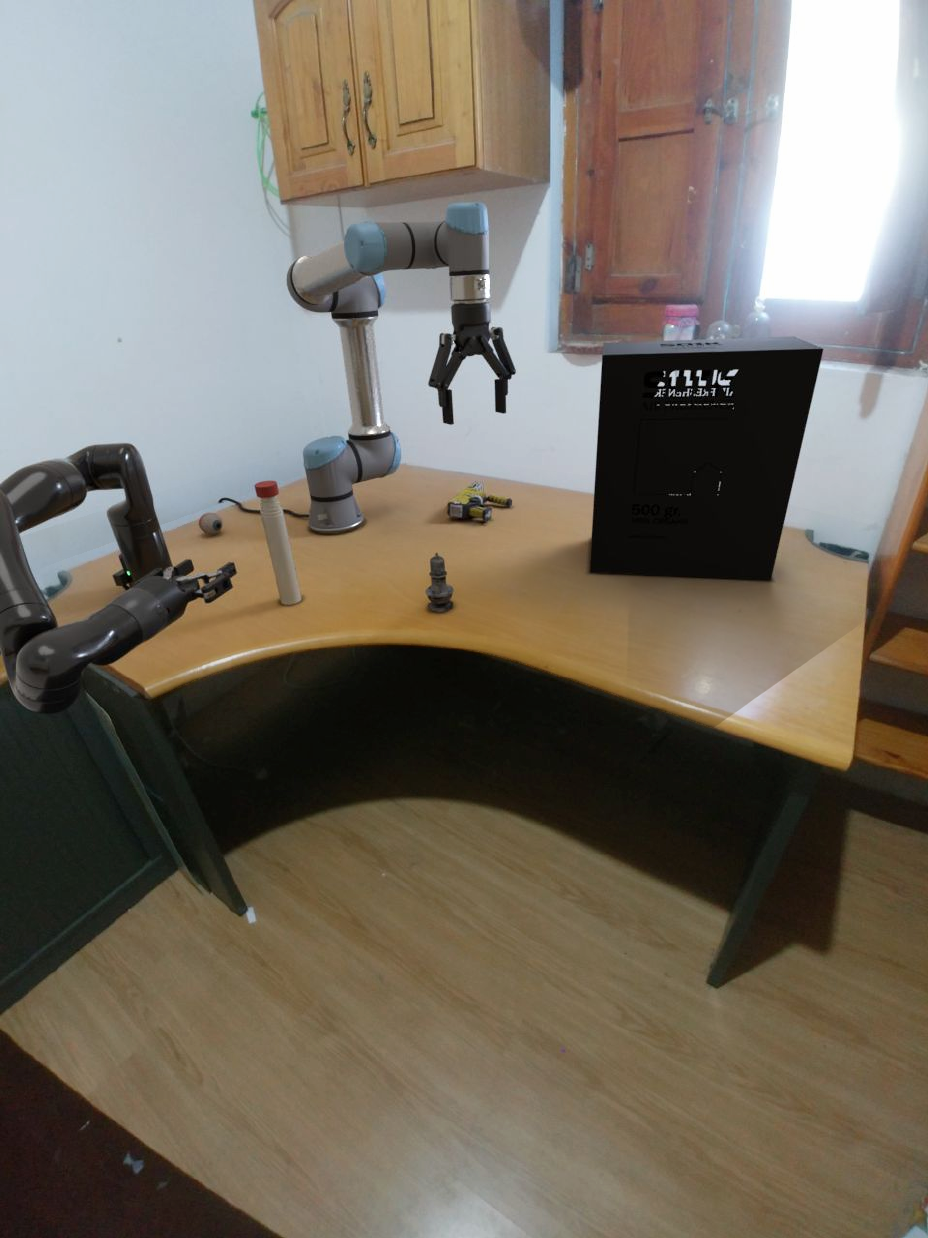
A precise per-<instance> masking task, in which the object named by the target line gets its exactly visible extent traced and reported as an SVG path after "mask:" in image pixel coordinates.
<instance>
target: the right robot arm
mask: <svg viewBox="0 0 928 1238" xmlns="http://www.w3.org/2000/svg"><path fill="white" fill-rule="evenodd" d="M488 214H489V213H488V208H487V206H486V204H485V203H483V202H477V201H469V202H468V201H465V202H457V203H456V202H455V203H451V204H449V205H447V206H446V209H445V219H444V220H438V221H407V222H405V221H404V222H373V221H368V220H367V221H363V222H355V223H352V224H350V225H349V226H347V228H346V232H345V234H344V236H343V237H344V239H343V240H341V241H339V242H337V243H336V244H333V245H332V246H330V247H329V248H326V249H325V250H323V251H321V252H320V253H318V254H316V255H310V254H308V255H303V256H301V257H299V258H298V259H296V260H294V261H293V262H292V263H291V264H290V265H289V268H288V271H287V273H286V287H287V290H288V293H289V295H290V297H291V299H292V300H294V302H295V303H296V304H297V305H298V306H300V307H301V308H303V309H305V310H307V311H309V312H312V313H320V314H321V313H324V314H325V313H330V315H331V320H332V322H333V323H334V324H336V326H337V327H338V329H339V335H340V343H341V344H340V345H341V351H342V358H343V365H344V373H345V380H346V387H347V395H348V403H349V410H350V416H351V417H350V418H351V425H350V426H349V428H348V430H347V436H348V439H345V437H343V436H341V435H332V436H324V437H321V438H318V439H315V440H312V441H311V442H309V443H308V444H306V445H305V446H304V448H303V450H302V457H303V459H302V460H303V467H304V471H305V476H306V481H307V486H308V492H309V498H310V507H309V513H308V514H306V513H304V514H303V513H296V512H294V511H293V510H290V509H286V508H284V509H283V508H282V509H283V512H284V513H287V514H290V515H291V516H293V517H296V518H308V521H307V522H308V523H307V524H308V528H309V529H308V530H310V531H311V532H312V533H314V534H317V535H323V536H324V535H325V536H327V535H329V536H331V535H339V534H340V535H341V534H345V533H350V532H353V531H355V530H357V529H359V528H361V527H362V526H363V525H364V523H365V519H364V514H363V512H362V510H361V508H360V505H359V504H358V501H357V500H356V498H355V495H354V489H353V485H354V484H355V485H356V484H359V483H363V482H368V481H371V480H375V479H381V478H385V477H387V476H390V475H392V474H394V473H396V472H397V470H398V469H399V467H400V465H401V462H402V446H401V443H400V442H399V441H400V439H399V437H398V436H397V435H396V434H395V432H394V431H391V426H390V425H388V423H386V422H385V418H384V409H383V408H384V407H383V401H382V391H381V381H380V373H379V363H378V354H377V345H376V344H377V343H376V337H375V335H376V334H375V327H374V325H375V322H376V321H377V320H378V318H379V309H380V308H382V307H383V306H384V304H385V299H386V296H387V292H386V291H387V290H386V284H385V279H384V277H383V276H384V275H383V274H382V273H383V272H388V271H399V270H403V271H405V270H422V269H425V270H431V269H433V270H436V269H440V268H448V276H449V277H448V278H449V281H448V282H449V299H450V301H451V302H453V304H451V306H450V314H451V315H450V316H451V325H452V327H453V332H452V333H449V332H448V333H446V332H441V333H439V335H438V337H439V338H438V349H437V352H436V355H435V358H434V363H433V365H432V369H431V372H430V376H429V379H428V382H427V384H428V387H430V388H433V389H436V390H437V398H438V406H439V407H440V408H441V413H442V423H443V424H446V425H450V426H452V425H454V424H455V421H454V420H455V419H454V404H453V403H454V402H453V390H452V389H450V388H449V387H450V386H451V383H452V382H453V380H454V378H455V376H456V374H457V373H458V371H459V368H460V367H461V365H462V363H463V361H464V360H466V358H467V357H473V356H474V357H475V356H482V358H483V359H484V360H485V361H486V364H488V366H489V367H490V369H491V370H492V371H493V373H494V374H495V375H496V377H497V378H495V379H494V407H495V408H494V412H495V413H499V414H504V415H505V414H507V396H508V394H509V381H510V380H511V379H512V378H513V376H515V375H516V374H517V370H516V368H515V365H514V362H513V359H512V356H511V353H510V351H509V349H508V347H507V343H506V341H505V338H504V337H505V336H504V329H503V327H501V326H492V327H491V328H490V323H491V322H492V315H491V314H492V312H491V311H492V309H491V307H492V306H491V304H490V302H488V300H489V299H490V298H491V280H490V279H491V277H490V276H491V275H490V227H489V216H488ZM490 340H491V342H492V345H491V344H490ZM453 345H454V347H453ZM452 347H453V349H452ZM494 350H495V351H494ZM450 355H451V356H450ZM223 501H228V502H231V503H233V504H235V505H237V506H238V508H239V509H240V510H241V511H243V512H247V513H252V514H261V512H260V511H261V509H250V508H246V507H243V505H242V503H241V502H240V501H237V500H235V499H232V498H230V497H221V498H219V500H218V504H221V503H222V502H223Z"/></svg>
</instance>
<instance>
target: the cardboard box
mask: <svg viewBox="0 0 928 1238" xmlns="http://www.w3.org/2000/svg"><path fill="white" fill-rule="evenodd" d="M601 353H602V355H601V371H600V388H599V389H600V390H599V405H598V423H597V439H596V454H595V455H596V456H595V472H594V473H595V474H594V487H593V488H594V491H593V505H592V506H593V509H592V526H591V540H590V541H591V543H590V559H589V574H614V575H637V576H638V575H641V576H660V577H663V576H664V577H686V578H708V579H709V578H710V579H730V580H731V579H733V580H735V579H736V580H754V581H755V580H756V581H757V580H758V581H772V577H773V573H774V569H775V565H776V560H777V557H778V556H777V555H778V551H779V548H780V543H781V537H782V534H783V529H784V526H785V520H786V515H787V511H788V507H789V502H790V499H791V495H792V489H793V486H794V481H795V476H796V472H797V467H798V464H799V459H800V454H801V451H802V445H803V441H804V436H805V433H806V428H807V424H808V419H809V415H810V412H811V411H810V410H811V406H812V403H813V397H814V392H815V388H816V384H817V380H818V376H819V371H820V366H821V361H822V359H823V358H822V357H823V353H824V347H821V346H818V345H816V344H813V343H811V342H808V341H805V340H804V339H801V338H798V337H796V336H771V337H769V336H768V337H766V336H765V337H737V338H708V339H707V338H706V339H679V340H678V339H675V340H673V339H672V340H649V341H648V340H645V341H617V342H616V341H615V342H614V341H613V342H603V343H602V352H601ZM736 370H737V371H736ZM677 371H678V375H677V376H676V377H675V382H674V383H675V385H672V383H673V376H671V374H672V373H674V372H677ZM685 371H689V372H690V374H689V382H691V385H687V379H688V377H687V375H685ZM699 371H701V373H700V375H698V372H699ZM715 371H716V375H715ZM733 371H736V373H734V375H729V373H730V372H733ZM714 375H715V376H716V377H715V380H714ZM719 377H720V378H719ZM700 381H701V382H705V385H700ZM713 381H715V382H714V383H713ZM719 381H729V382H728V384H725V385H724V384H720V383H719ZM660 383H663V384H664V385H660Z"/></svg>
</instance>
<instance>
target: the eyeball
mask: <svg viewBox="0 0 928 1238" xmlns="http://www.w3.org/2000/svg"><path fill="white" fill-rule="evenodd" d="M198 526H199V528H200V530H201V531H202V532H203V533H204V534H206V535H212V536H214V535H216V534H218V533H220V532H221V531H222V529H223V520H222V518H221V517H220V515H218V514H217V513H214V512H206V513H203V515H201V516H200V517H199V520H198Z"/></svg>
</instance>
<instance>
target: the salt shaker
mask: <svg viewBox="0 0 928 1238" xmlns="http://www.w3.org/2000/svg"><path fill="white" fill-rule="evenodd" d="M429 566H430V572H429V573H428V575H429V577H430V581H431V583H430V584H431V585H430V586H428V587H426V589H425V590H424V592H425V595H426V596H427V599H428V600H429V601H430V602H428V603H427V604H428V606H427V608H428V609H429V610H430V611H432V612H435V613H443V612H448V611H450V610H451V609H453V607H454V603H453V601H452V600H451V599H452V597H453V593H454V591H455V589H454V587H453V586H452V585H450V584H448V583H447V575H448V572H447V571H446V565H445V559H444V558H443V556H440V555H439V553H438V552H435V554H434V556H432V557H431V558H430V559H429Z"/></svg>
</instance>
